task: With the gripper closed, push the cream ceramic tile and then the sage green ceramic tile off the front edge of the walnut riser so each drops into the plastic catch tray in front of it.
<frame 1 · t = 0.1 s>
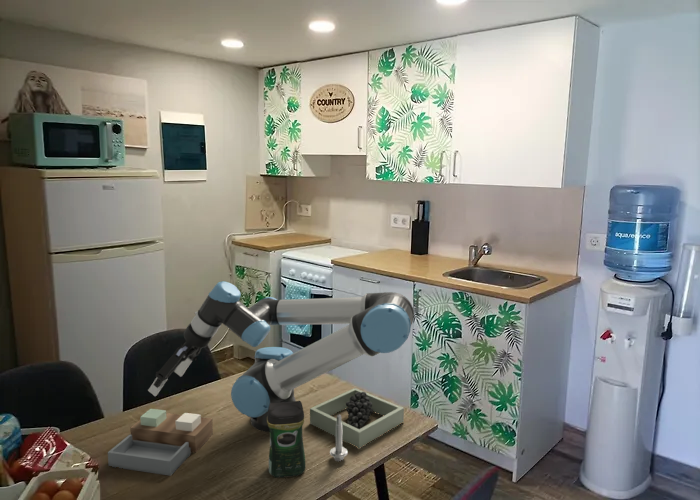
hand: (165, 383, 150), 15 cm above the table, fingers open, 13 cm apart
catch tray: (150, 460, 138), on the table
screw: (338, 459, 139), on the table
fruit crate: (356, 423, 158), on the table
cream tile: (188, 426, 146), point 5 cm above the table, touching walnut riser
fruit: (356, 424, 158), resting in fruit crate
sage tile: (153, 421, 148), point 5 cm above the table, touching walnut riser
coffee jar: (286, 470, 134), on the table, touching arm
walnut riser: (172, 439, 148), on the table
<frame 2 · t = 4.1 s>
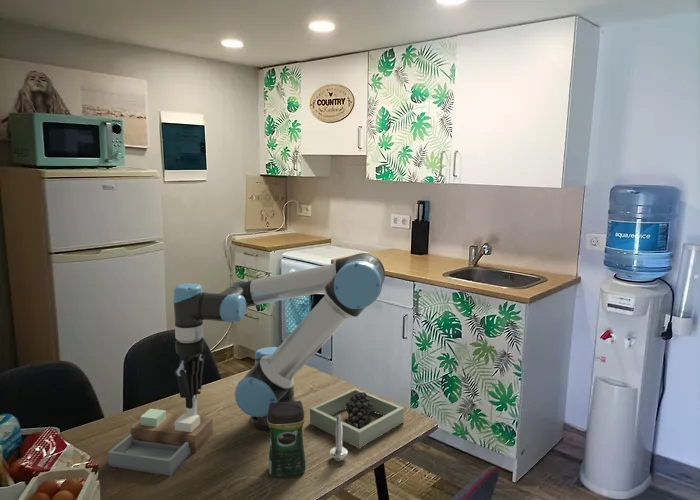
hand: (192, 416, 148), 6 cm above the table, fingers closed
cream tile: (187, 426, 145), point 5 cm above the table, touching gripper
coffee jar: (286, 470, 134), on the table
everything else where it was.
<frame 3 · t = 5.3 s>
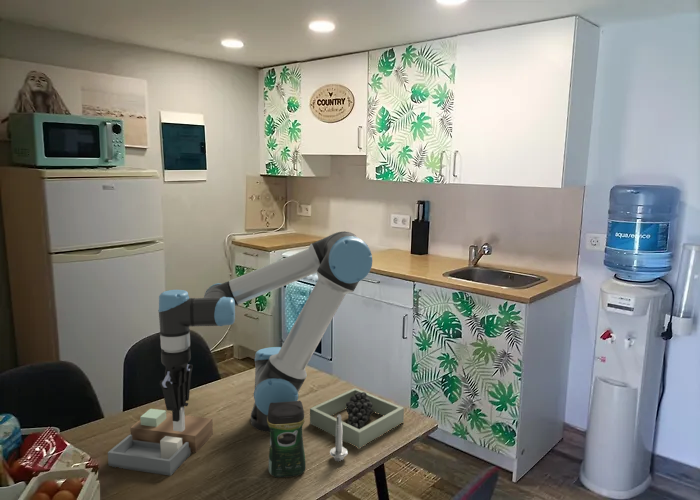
hand: (179, 429, 141), 6 cm above the table, fingers closed
cream tile: (174, 445, 139), point 3 cm above the table, tilted 91°, touching catch tray
everything else where it was.
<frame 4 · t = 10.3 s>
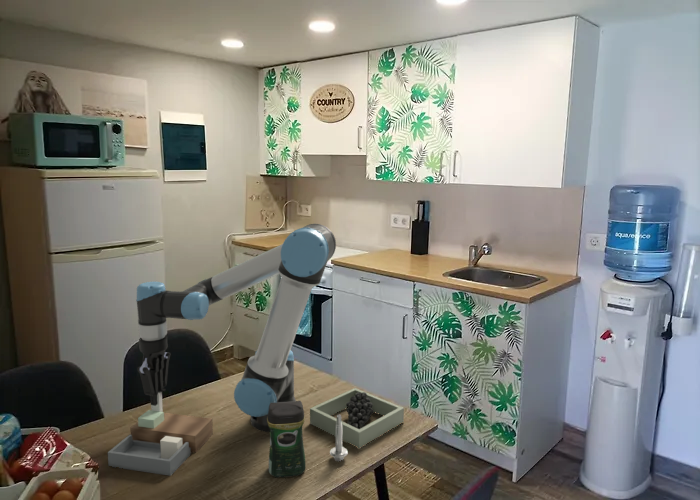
hand: (157, 413, 150), 6 cm above the table, fingers closed
sage tile: (151, 423, 147), point 5 cm above the table, touching gripper
everything else where it was.
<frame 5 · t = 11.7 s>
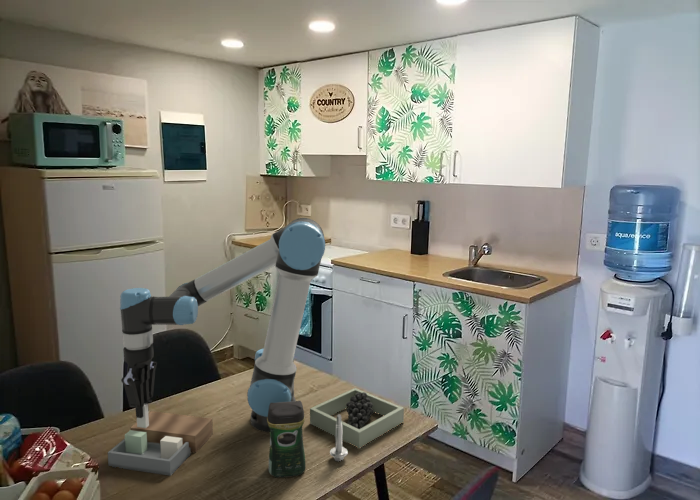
hand: (143, 426, 143), 6 cm above the table, fingers closed
sage tile: (138, 439, 141), point 3 cm above the table, tilted 90°, touching catch tray
everything else where it was.
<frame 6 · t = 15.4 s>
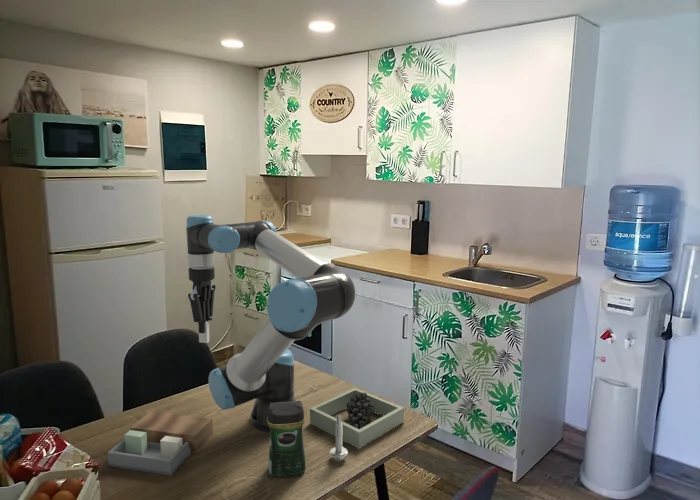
hand: (204, 341, 158), 24 cm above the table, fingers closed
nothing on the table moved.
at the end: cream tile inside the target area on the catch tray (6.2 cm from its centre), point 3.3 cm above the catch tray's base; sage tile inside the target area on the catch tray (6.6 cm from its centre), point 3.3 cm above the catch tray's base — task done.
